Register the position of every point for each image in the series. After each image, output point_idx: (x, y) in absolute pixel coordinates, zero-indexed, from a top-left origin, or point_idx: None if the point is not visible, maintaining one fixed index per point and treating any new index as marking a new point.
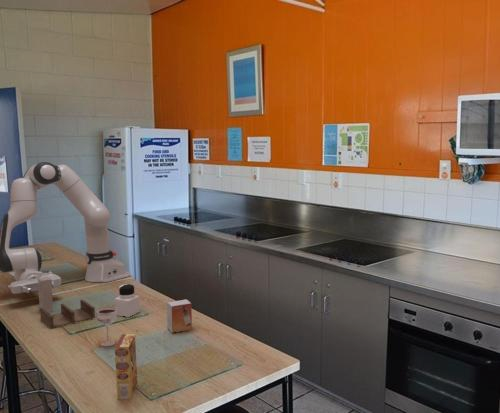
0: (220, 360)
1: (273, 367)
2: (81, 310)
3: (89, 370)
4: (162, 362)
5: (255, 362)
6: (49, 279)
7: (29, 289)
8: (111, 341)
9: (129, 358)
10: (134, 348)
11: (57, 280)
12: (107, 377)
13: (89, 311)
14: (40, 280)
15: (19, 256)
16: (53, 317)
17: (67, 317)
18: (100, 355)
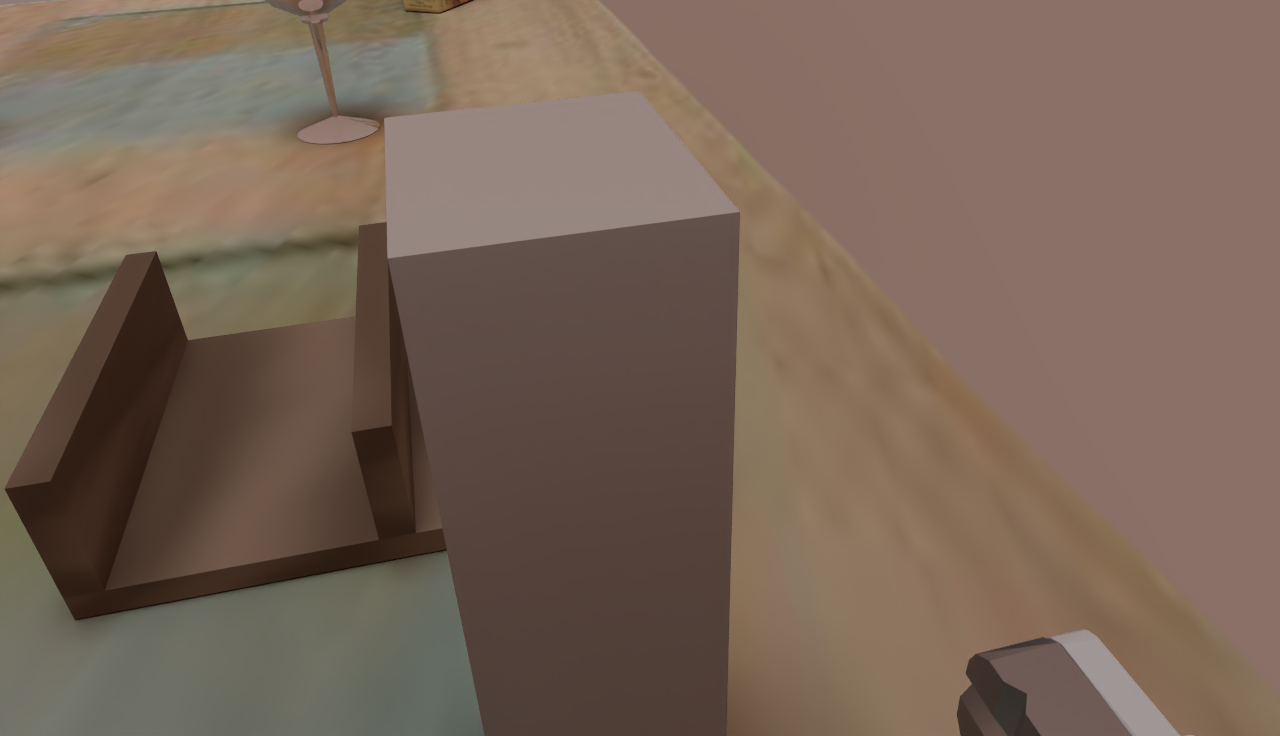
0: (89, 31)
1: (17, 8)
2: (150, 520)
3: (511, 49)
4: (254, 44)
5: (22, 19)
6: (434, 112)
7: (1011, 645)
8: (319, 121)
9: None
10: None
11: None
12: (470, 29)
13: (159, 346)
14: (655, 114)
15: None
16: None
17: (407, 379)
18: (428, 86)
